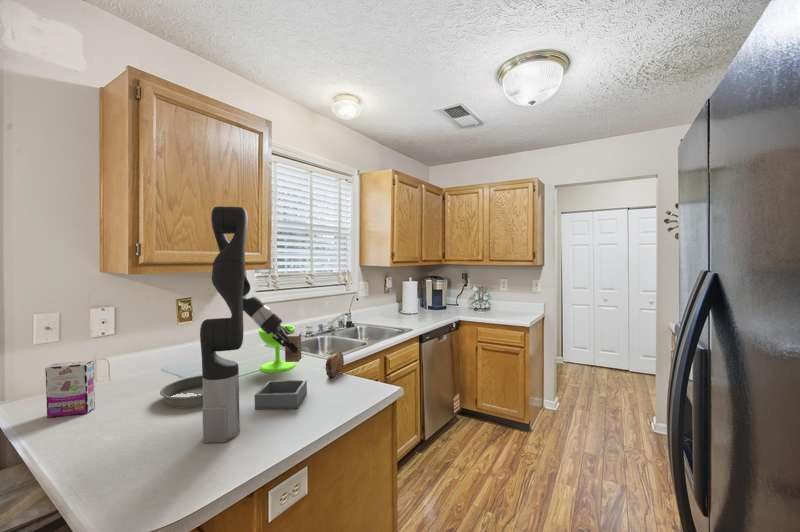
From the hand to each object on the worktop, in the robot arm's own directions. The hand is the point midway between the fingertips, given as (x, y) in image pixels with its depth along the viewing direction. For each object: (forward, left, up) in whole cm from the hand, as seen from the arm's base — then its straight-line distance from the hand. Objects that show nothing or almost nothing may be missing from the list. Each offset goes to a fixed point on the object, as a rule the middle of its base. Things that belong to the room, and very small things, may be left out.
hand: (298, 349), depth 143 cm
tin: (+14, -12, -15) cm, 24 cm away
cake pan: (-9, +34, -15) cm, 38 cm away
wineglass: (+25, +16, -15) cm, 33 cm away
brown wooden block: (0, +2, -4) cm, 5 cm away
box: (-16, +2, -14) cm, 21 cm away
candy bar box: (-22, +69, -15) cm, 74 cm away
